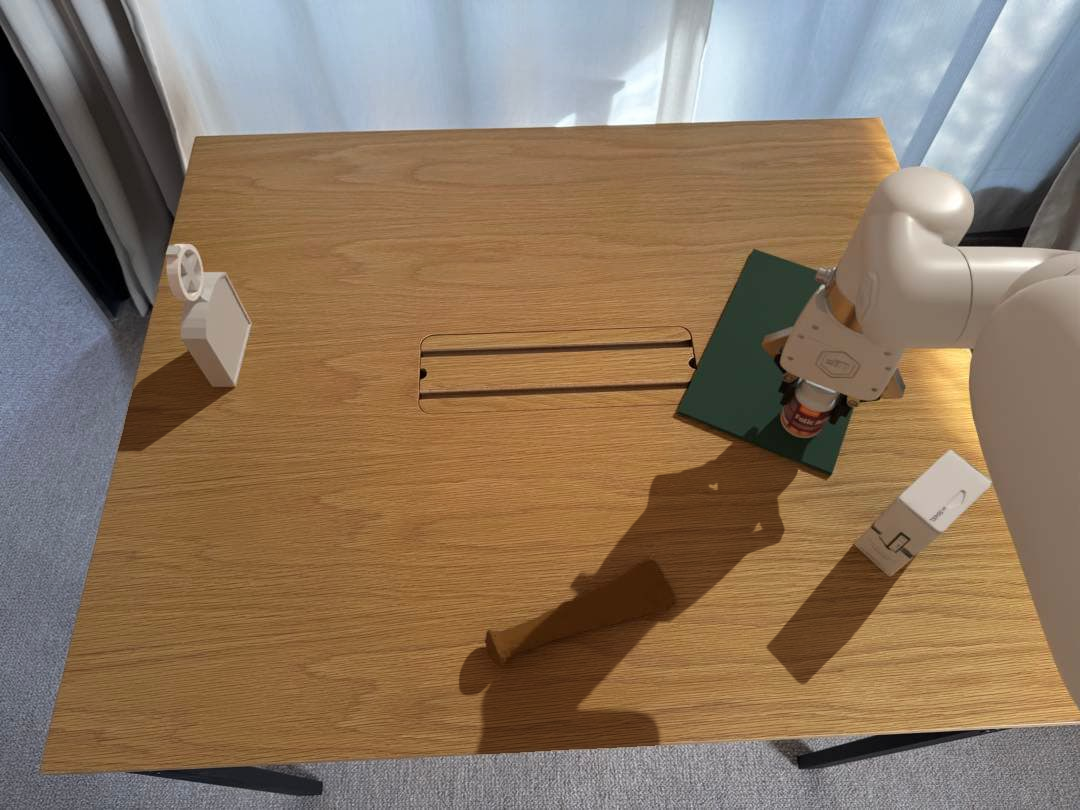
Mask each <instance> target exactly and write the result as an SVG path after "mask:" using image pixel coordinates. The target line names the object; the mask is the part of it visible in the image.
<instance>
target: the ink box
mask: <svg viewBox="0 0 1080 810" xmlns="http://www.w3.org/2000/svg"><path fill="white" fill-rule="evenodd" d="M991 485H993V484H992V481H991V478H990V477H989V476H987V475H986V474H985V473H984V472H982V471H981V470H979V469H978V468H977V467H976V466H974V464H972V463H971V462H969V460H967V459H965V458H964V457H962V456H961V455H960V454H959V453H957V452H956V451H955V450H953V449H948V450H947V451H946V452H945V453H944V454H942V455H941V456H940V457H939V458H938V459H937V460H935V462H933V463H932V464H931V465H929V467H928V468H927V469H926V470H925V471H923V473H921V474H920V475H919V476H918V477H917V478H916V479H915V480H914V481H913V482H912V483H910V485H909V486H907V488H906V489H904V491H903V492H901V493H900V494H899V495H898V496H897V497H896V498H895V499H894V500H893V501H892V503H891V504H890V505H889V506H888V507H887V508H886V509H884V511H883V512H882V513H881V514H880V515H879V516H878V517H877V518H876V519H875V521H874V522H872V523H871V524H870V525H869V527H868V528H867V529H866V530H865V531H864V532H863V533H862V534H861V535H860V536H859V538H857V539H856V541H854V544H853V545H854V546H855V547H856V548H857V549H858V550H859V551H860V552H861V553H862V554H863V555H865V556H866V557H867V558H868V559H869V560H870V561H871V562H872V563H873V564H874V565H875V566H877V568H879V569H880V570H881V571H882V572H883V573H884V574H885V575H886V576H887V577H892V576H894V575H895V574H897V572H898V571H899V570H901V569H902V568H903V567H904V566H905V565H907V564H908V563H909V562H910V561H912V560H913V559H914V558H915V557H916V556H917V555H919V554H920V553H921V552H922V551H923V550H925V549H926V548H928V546H930V545H931V544H932V543H933V542H935V540H937V539H938V538H939V537H940V536H942V535H943V533H945V532H946V531H947V530H948V529H949V528H950V527H951V526H952V525H953V523H955V522H956V521H957V520H958V518H959V517H961V516H962V515H963V514H964V513H965V512H966V511H967V510H968V509H969V508H970V507H971V506H972V505H973V504H974V503H975V502H976V501H977V500H978V499H979V498H980V497H982V495H983V494H984V493H985V492H987V490H989V489H990V488H991Z"/></svg>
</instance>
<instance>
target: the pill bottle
mask: <svg viewBox="0 0 1080 810" xmlns="http://www.w3.org/2000/svg"><path fill="white" fill-rule="evenodd" d="M839 394H840V393H839V392H837V391H834V390H831V389H829V388H826V387H823V386H821V385H818V384H815V383H813V382H810V381H808V380H805V379H803V378H800V379H799V380H798V383H797V385H796V388H795V390H794V392H793V394H792V396H791V397H790V399H789V401H788V403H787V405H784V407H783V409H782V412H781V416H780V418H781V423H782V425H783V427H784V428H785V429H786V431H788V432H789V433H790V434H792V435H793V436H796V437H800V438H810V437H813V436H815V435H817V434H818V433H819V432H820V430H821V429H822V427H823V426H824V424H825V423H826V421H827V419H828V418H829V416H830V415H831V413H832V411H833V410H834V409H835V407H836V406H837V404H838V401H839Z"/></svg>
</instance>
